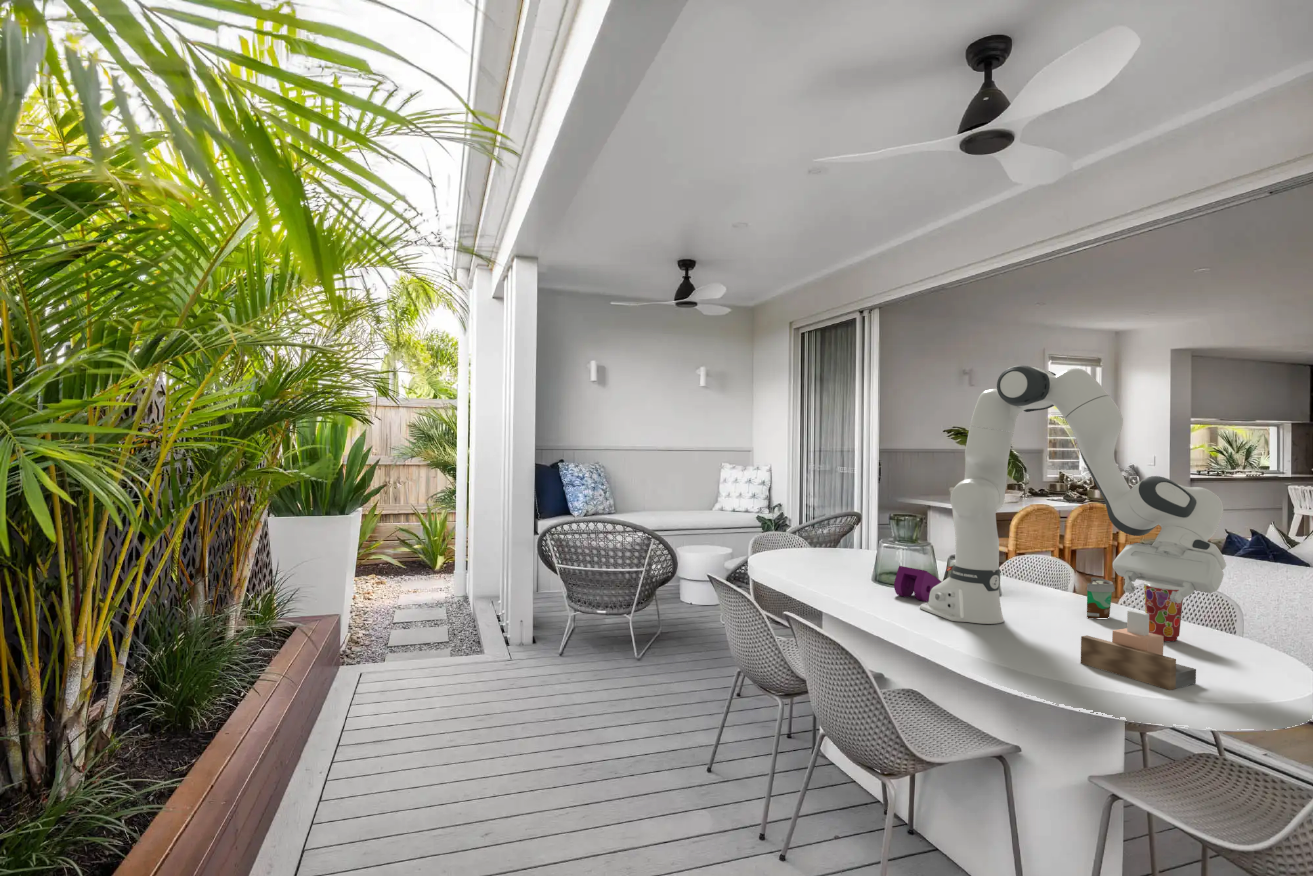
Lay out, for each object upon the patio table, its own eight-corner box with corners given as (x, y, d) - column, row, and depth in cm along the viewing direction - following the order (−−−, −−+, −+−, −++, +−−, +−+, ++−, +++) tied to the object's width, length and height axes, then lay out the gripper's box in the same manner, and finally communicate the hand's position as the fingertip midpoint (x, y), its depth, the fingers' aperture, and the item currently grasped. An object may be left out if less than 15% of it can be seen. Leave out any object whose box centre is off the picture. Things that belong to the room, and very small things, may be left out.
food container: (1112, 623, 192) (1113, 586, 192) (1086, 619, 196) (1087, 583, 196) (1115, 614, 202) (1116, 580, 202) (1091, 611, 206) (1091, 577, 206)
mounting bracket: (921, 609, 228) (891, 591, 218) (928, 585, 230) (899, 565, 220) (948, 615, 220) (918, 597, 211) (955, 590, 222) (925, 570, 213)
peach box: (1112, 655, 152) (1113, 609, 152) (1128, 652, 154) (1129, 607, 154) (1146, 665, 145) (1147, 617, 145) (1162, 661, 148) (1164, 614, 148)
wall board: (1080, 663, 156) (1081, 636, 156) (1106, 658, 160) (1106, 631, 160) (1169, 690, 140) (1170, 660, 140) (1195, 683, 144) (1196, 654, 144)
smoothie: (1181, 638, 178) (1183, 559, 178) (1184, 645, 171) (1185, 564, 171) (1142, 632, 183) (1144, 556, 183) (1142, 639, 176) (1144, 560, 176)
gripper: (1123, 532, 165) (1096, 576, 160) (1225, 546, 146) (1197, 596, 142) (1133, 550, 167) (1107, 594, 162) (1235, 566, 148) (1208, 616, 144)
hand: (1150, 595), depth 152 cm, fingers open, 8 cm apart
